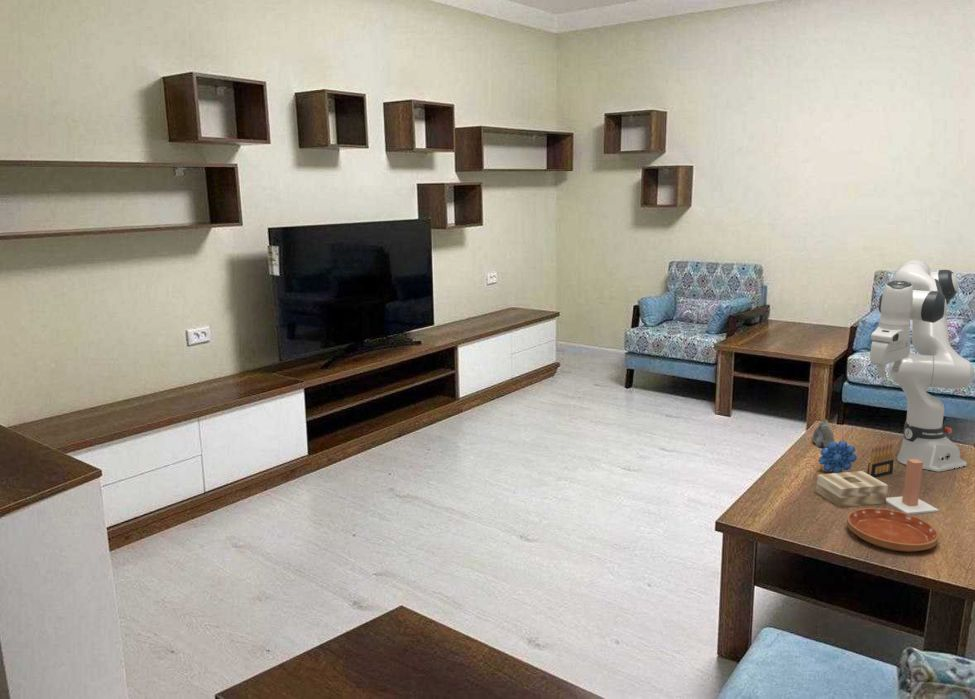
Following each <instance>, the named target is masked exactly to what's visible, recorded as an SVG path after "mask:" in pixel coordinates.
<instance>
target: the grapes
mask: <svg viewBox="0 0 975 699" xmlns="http://www.w3.org/2000/svg"><path fill="white" fill-rule="evenodd" d="M855 451H856V448H855V446H854V445H851V444H849V445H848V442H847V441H845V440H841V441H838V443H837V442H836V441H834V442H830V443H829V444H828V448H821V449H820V455H821V456H820V457H819V458H818V463H819V464H820V465H823V470H824V471H825V472H831V471H832V473H842V471H843V470H844V471H849V470H851V468H852V467H853V466H852V463H855V462H856V461H857V459H858V458H857V457H858V456H857V455H856V454H855Z"/></svg>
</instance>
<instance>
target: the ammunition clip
mask: <svg viewBox="0 0 975 699" xmlns="http://www.w3.org/2000/svg"><path fill="white" fill-rule="evenodd" d="M894 445H895V444H894V440H893V439H891V440H890V441H889V440H887V442H886V441H884V442H880V443H879V442H877V443H873V445H872V447H871V454H870V456H869V462H868V465H867V470H866V473H867V474H869V475H870V476H872V477H874V478H876V479H877V478H880V477H885V476H888V475H892V474H893V470H894V461H895V460H894Z"/></svg>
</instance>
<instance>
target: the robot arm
mask: <svg viewBox="0 0 975 699" xmlns="http://www.w3.org/2000/svg"><path fill="white" fill-rule="evenodd" d="M958 289H959V280H958V278H957V276H956V275H955V274H954V272H953V271H952V270H950V269H939V270H936V271H931V269H930V266H929V264H928V263H927V262H926V261H925V260H922V259H919V258H912V259H908V260H907V261H905V262H903V263H902V264H901V265H900V266H899V267H898V268H897V270H896V271H895V273H894V275H893V278H892V281H888V282H886V284H885V285H884V290H883V293H882V294H881V295H880V296H879V300H878V301H879V304H878V312H879V313H880V314H881V315H880V318H879V320H878V326H877V327H876V329H875V330H874V331H872V333H871V335H870V340H871V346H870V354H869V356H870V358H869V360H870V363H871V364H872V365H875V366H876V368H877V376H878V378H880V379H881V378H882V379H883V378H886V376H887V371H886V366H887V365H888V373H889V377H890V378H891V379H892V381H894V382H895V383H896V384H897V385H898V386H899V387H900V388H901V389H902V391H903V392H904V395H905V397H906V400H907V408H906V411H907V412H906V420H905V422H904V425H903V438H902V441H901V446H900V449H899V451H898V454H897V455H896V457H895V458H896V461H898V462H899V463H901V464H903V465H906V466H907V460H910V459H917V460H919V461H921V462H923V468H922V470H930V471H932V472H944V471H945V472H946V471H949V470H954V468H955V469H960V468H964V467H963V466H965V467H967V466H968V463H967V462H966V461H965V460H964V459H962V458H961V451H960V448H959V446H958V445H957V444H955V443H954V442H953V441H952V440H951V439H949V438H948V437H947V436H946V433H947V434H949V435H950V434H952V432H953V429H952V428H951V427H949V426H945V427H944V425H943V423H944V422H943V421H944V416H945V406H944V403H943V402H942V401H941V400H940V399H938V398H937V397H935V396H933V395H931V394H930V393H928V392H927V388H937V389H938V388H941V389H949V390H950V389H951V390H953V389H954V390H955V389H965V388H967V387H968V386H970V385H971V384H972V383H973V381H974V378H975V368H974V366H973V364H972V363H971V362H970V361H969V360H968V359H966V358H964V357H963V356H961V355H959V353H957V352H956V351H955V349H953V347H952V346H951V344H950V340H949V339H950V338H949V333H948V332H949V329H948V320H947V316H946V312H947V305H948V304H950V302H951V300H952V299H954V297H955V296H956V295H957V293H958ZM911 321H912V323H911ZM911 324H912V326H911ZM911 327H912V331H911ZM910 332H912V336H910ZM911 337H912V340H911ZM911 342H912V343H911ZM911 344H912V346H913V348H914V350H915V351H916V352H917V353H918V354H915V353H911ZM959 467H960V468H959Z"/></svg>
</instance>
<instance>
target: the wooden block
mask: <svg viewBox="0 0 975 699" xmlns="http://www.w3.org/2000/svg"><path fill="white" fill-rule="evenodd" d="M905 467H906V469H905V474H904V476H905V477H904V484H903V492H902V496H903V499H902V503H904V504H906V505H908V506H918V499H920V490H921V482H922V474H923V469H922V468H923V462H921V461H919V460H917V459H910V460H907V465H906V466H905Z"/></svg>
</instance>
